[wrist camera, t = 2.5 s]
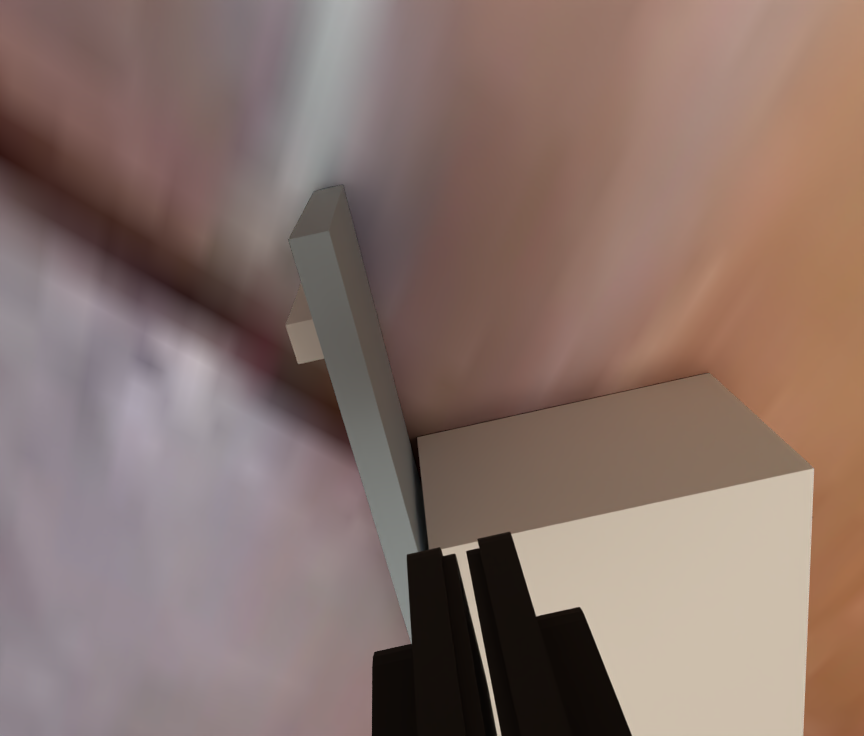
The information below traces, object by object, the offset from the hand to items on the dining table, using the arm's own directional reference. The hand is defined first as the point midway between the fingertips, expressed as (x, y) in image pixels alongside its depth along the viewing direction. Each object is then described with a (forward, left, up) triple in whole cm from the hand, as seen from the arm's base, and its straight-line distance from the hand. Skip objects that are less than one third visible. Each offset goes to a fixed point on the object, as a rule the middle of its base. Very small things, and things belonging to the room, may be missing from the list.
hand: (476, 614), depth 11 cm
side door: (+9, -3, -15) cm, 18 cm away
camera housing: (+13, +5, -15) cm, 21 cm away
